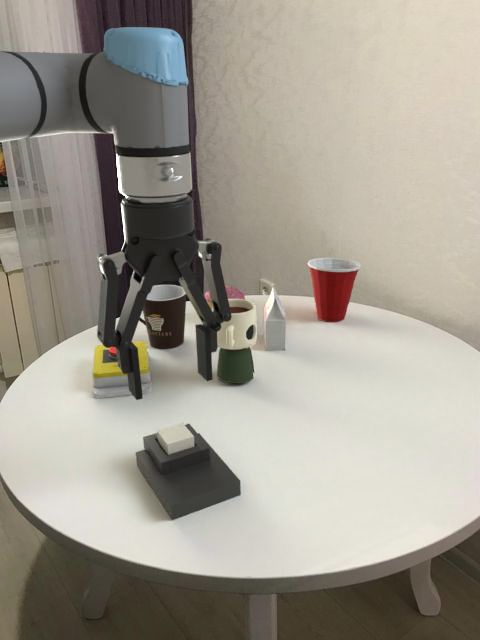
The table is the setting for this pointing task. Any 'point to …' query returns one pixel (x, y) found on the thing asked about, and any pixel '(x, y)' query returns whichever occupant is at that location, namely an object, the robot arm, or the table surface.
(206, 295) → the cupcake
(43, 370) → the table surface
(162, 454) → the button base
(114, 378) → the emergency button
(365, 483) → the table surface
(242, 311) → the character mug
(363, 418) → the table surface
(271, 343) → the small milk carton
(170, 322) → the coffee mug
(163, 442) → the small white rectangular block
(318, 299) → the plastic cup
